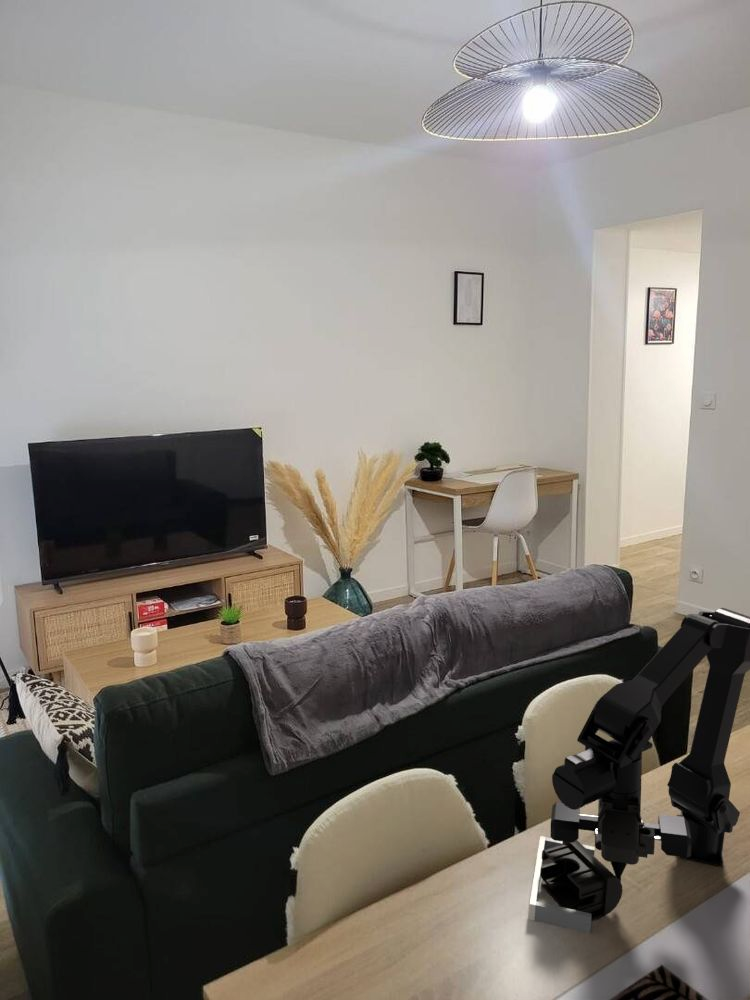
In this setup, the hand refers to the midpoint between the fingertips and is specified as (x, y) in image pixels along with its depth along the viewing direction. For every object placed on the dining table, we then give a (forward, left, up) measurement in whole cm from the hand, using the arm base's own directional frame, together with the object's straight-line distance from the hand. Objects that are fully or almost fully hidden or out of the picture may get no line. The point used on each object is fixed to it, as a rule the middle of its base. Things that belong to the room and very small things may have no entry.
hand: (617, 880), depth 112 cm
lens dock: (+7, 0, -3) cm, 8 cm away
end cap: (+5, +2, -3) cm, 6 cm away
